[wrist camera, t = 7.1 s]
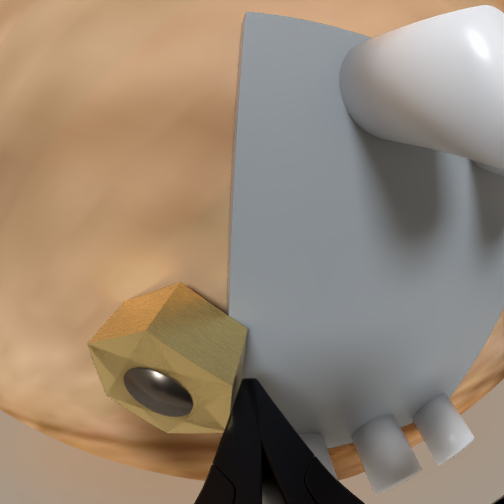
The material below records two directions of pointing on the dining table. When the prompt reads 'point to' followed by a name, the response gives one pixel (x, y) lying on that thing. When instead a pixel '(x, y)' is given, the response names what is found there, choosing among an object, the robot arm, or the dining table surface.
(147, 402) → the nut
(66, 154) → the dining table surface
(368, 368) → the board
